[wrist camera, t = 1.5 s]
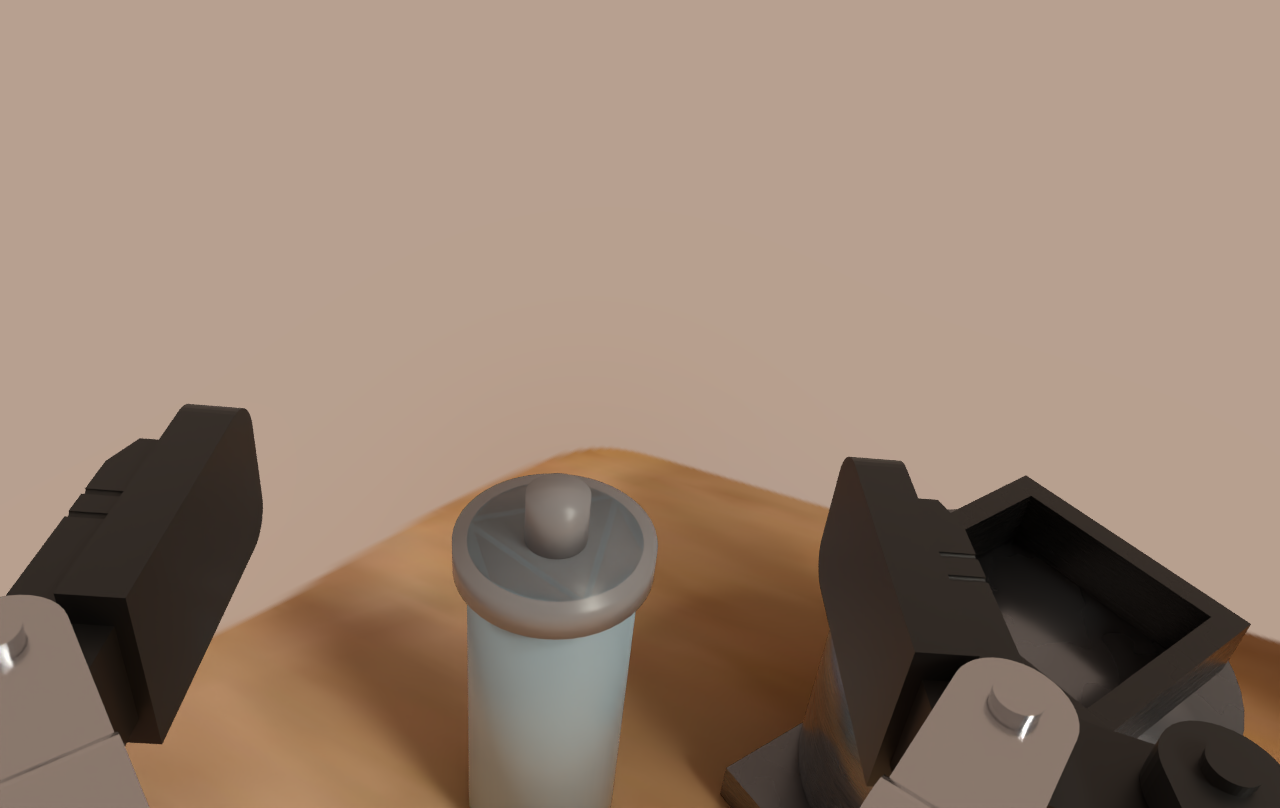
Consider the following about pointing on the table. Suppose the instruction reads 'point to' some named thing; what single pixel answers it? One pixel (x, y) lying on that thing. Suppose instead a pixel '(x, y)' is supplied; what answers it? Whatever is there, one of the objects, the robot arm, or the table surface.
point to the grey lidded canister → (549, 635)
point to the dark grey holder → (1039, 646)
